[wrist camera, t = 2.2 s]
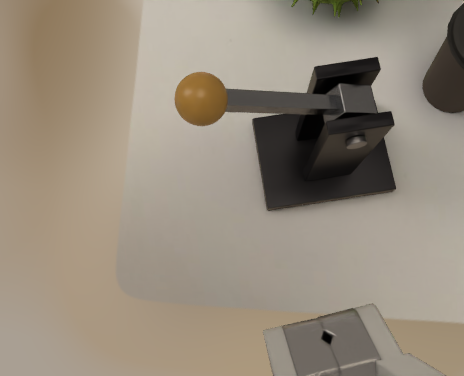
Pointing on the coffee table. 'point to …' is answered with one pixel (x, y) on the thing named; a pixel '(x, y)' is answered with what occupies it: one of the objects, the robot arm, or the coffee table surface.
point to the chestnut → (337, 3)
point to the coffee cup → (448, 69)
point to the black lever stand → (325, 147)
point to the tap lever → (266, 101)
